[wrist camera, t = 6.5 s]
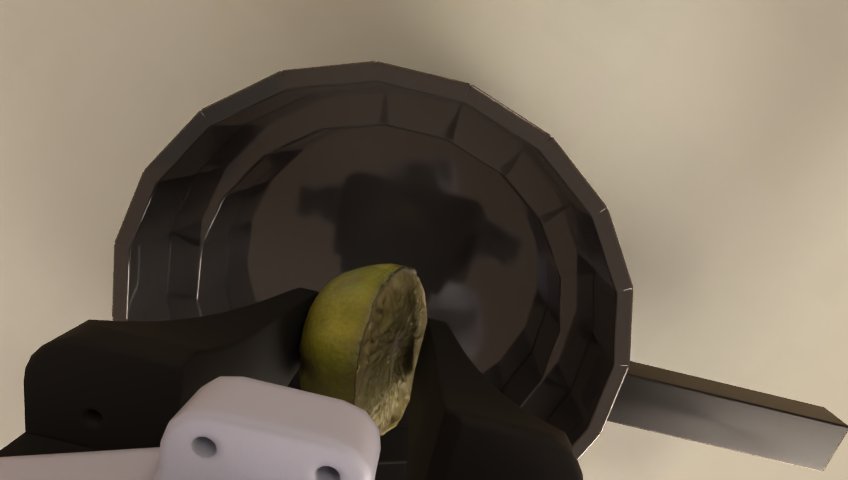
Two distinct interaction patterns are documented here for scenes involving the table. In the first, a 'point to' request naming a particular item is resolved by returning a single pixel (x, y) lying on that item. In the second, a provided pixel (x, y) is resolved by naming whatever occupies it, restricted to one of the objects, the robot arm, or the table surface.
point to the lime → (366, 340)
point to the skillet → (392, 228)
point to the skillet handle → (727, 417)
